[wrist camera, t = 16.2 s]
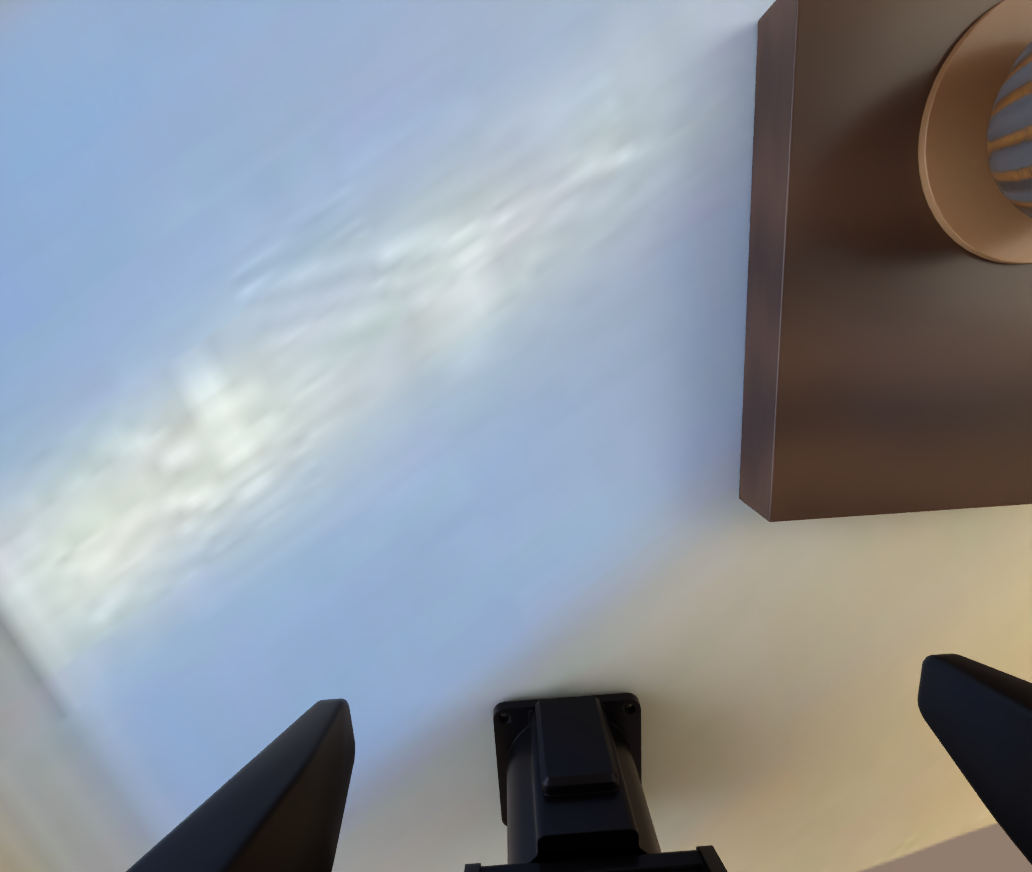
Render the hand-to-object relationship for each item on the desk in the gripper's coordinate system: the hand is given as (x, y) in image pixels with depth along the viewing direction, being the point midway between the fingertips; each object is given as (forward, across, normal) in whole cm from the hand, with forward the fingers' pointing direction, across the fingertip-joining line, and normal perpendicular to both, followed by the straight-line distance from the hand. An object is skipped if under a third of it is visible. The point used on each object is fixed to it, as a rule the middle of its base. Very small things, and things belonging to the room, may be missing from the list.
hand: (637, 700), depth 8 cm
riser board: (+13, -14, -6) cm, 20 cm away
